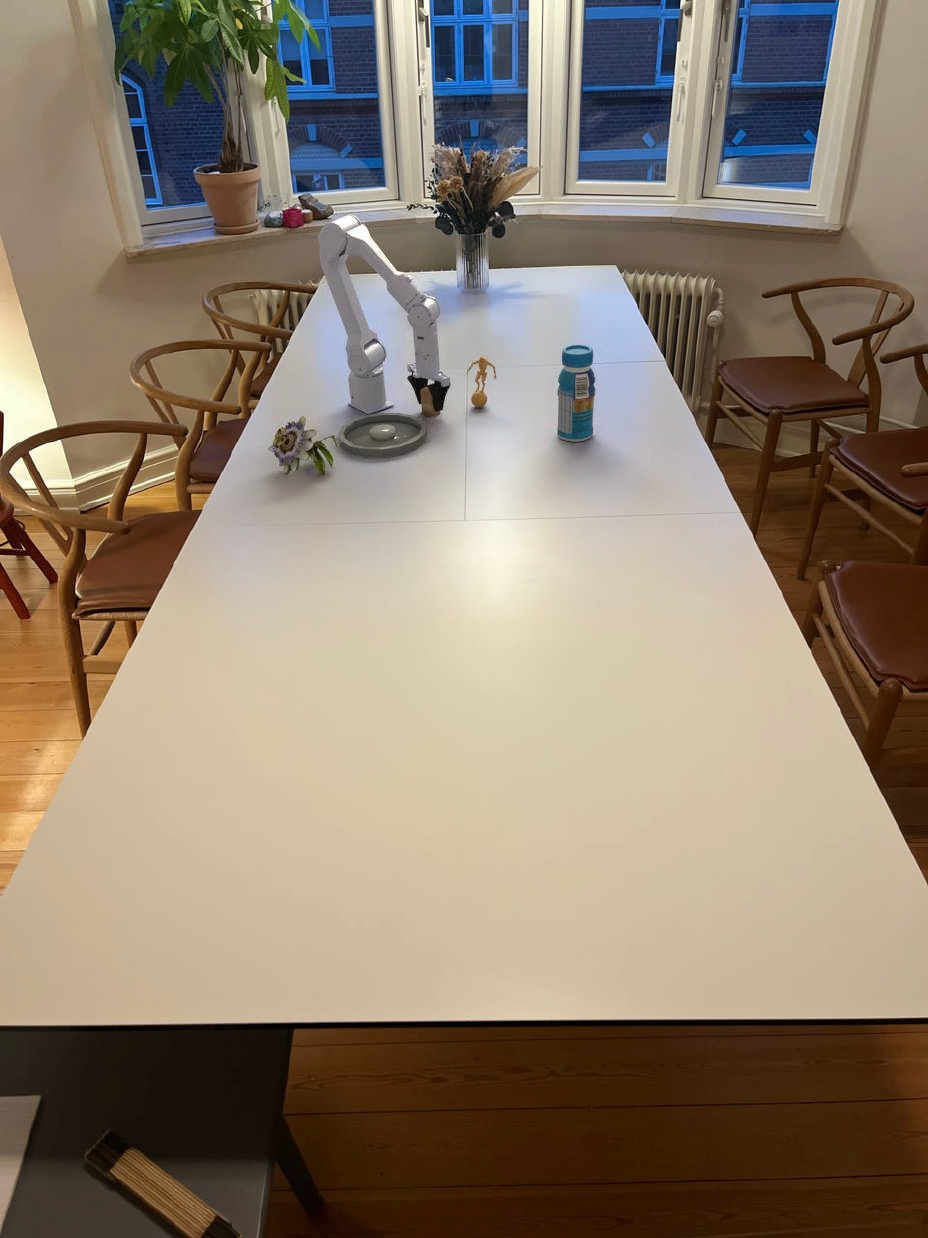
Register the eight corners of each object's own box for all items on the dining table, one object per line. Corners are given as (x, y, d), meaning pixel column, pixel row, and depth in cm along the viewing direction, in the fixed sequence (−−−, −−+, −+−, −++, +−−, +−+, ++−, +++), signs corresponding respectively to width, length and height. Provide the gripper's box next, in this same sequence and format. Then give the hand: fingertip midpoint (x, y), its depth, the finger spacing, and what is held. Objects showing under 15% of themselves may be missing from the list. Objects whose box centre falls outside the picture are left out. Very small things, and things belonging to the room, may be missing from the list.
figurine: (461, 406, 218) (458, 359, 211) (473, 398, 222) (471, 351, 215) (490, 412, 214) (488, 364, 207) (501, 403, 218) (500, 356, 211)
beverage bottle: (550, 439, 200) (552, 353, 188) (565, 425, 206) (566, 340, 194) (585, 445, 197) (588, 357, 185) (598, 430, 202) (603, 345, 191)
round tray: (323, 437, 206) (322, 429, 205) (394, 413, 216) (393, 405, 215) (371, 465, 193) (370, 457, 192) (444, 438, 203) (443, 430, 202)
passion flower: (292, 497, 196) (253, 448, 192) (327, 467, 202) (289, 419, 198) (318, 481, 186) (277, 430, 182) (354, 450, 192) (314, 400, 188)
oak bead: (418, 413, 216) (416, 389, 212) (432, 408, 218) (431, 384, 214) (429, 418, 213) (427, 394, 210) (443, 413, 215) (442, 389, 212)
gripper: (395, 348, 209) (400, 403, 217) (431, 363, 200) (435, 419, 208) (419, 341, 213) (423, 395, 221) (455, 356, 203) (458, 411, 211)
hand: (430, 406), depth 215 cm, fingers open, 6 cm apart
